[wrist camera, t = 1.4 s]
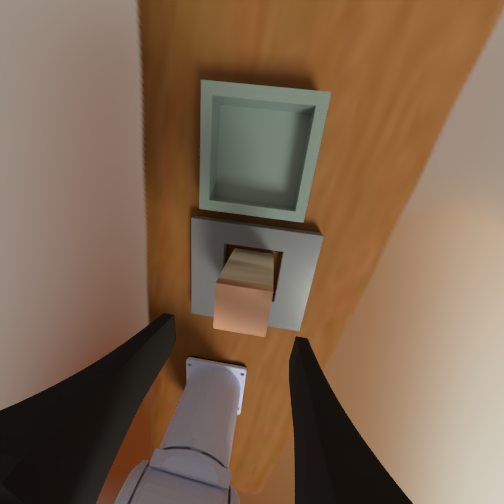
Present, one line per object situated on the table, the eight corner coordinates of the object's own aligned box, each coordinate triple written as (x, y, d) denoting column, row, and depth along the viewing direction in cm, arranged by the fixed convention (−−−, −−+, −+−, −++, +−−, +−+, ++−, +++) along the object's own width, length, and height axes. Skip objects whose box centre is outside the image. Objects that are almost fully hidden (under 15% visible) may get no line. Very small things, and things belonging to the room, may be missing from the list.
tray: (299, 216, 18) (303, 222, 16) (208, 204, 19) (199, 208, 16) (322, 104, 15) (331, 92, 13) (212, 93, 16) (201, 79, 13)
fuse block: (268, 287, 21) (265, 337, 15) (231, 282, 22) (213, 328, 15) (273, 253, 20) (273, 292, 13) (234, 247, 20) (215, 282, 14)
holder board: (297, 323, 23) (299, 331, 21) (195, 306, 23) (191, 313, 22) (320, 232, 19) (323, 236, 17) (196, 215, 19) (191, 217, 18)
